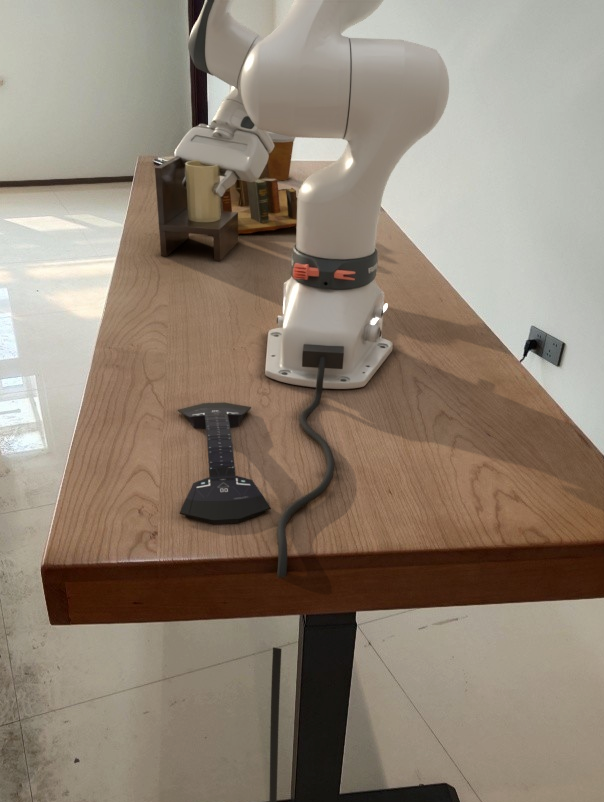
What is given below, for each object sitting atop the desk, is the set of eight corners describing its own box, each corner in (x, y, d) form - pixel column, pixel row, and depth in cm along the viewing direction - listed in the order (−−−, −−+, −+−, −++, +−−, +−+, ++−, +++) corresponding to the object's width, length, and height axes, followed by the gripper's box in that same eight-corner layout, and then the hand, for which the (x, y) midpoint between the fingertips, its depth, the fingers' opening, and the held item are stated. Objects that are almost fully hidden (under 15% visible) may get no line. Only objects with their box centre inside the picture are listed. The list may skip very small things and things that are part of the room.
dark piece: (250, 405, 93) (249, 381, 91) (272, 521, 73) (272, 493, 71) (177, 408, 92) (176, 383, 90) (180, 526, 72) (177, 498, 70)
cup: (215, 223, 142) (213, 167, 137) (183, 221, 143) (180, 165, 138) (224, 215, 148) (223, 161, 142) (193, 213, 148) (191, 159, 143)
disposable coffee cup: (301, 178, 209) (302, 131, 202) (278, 183, 203) (279, 135, 196) (276, 173, 214) (277, 127, 207) (253, 177, 208) (253, 130, 201)
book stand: (316, 237, 159) (312, 162, 150) (208, 251, 157) (196, 176, 148) (293, 197, 187) (288, 132, 178) (201, 209, 185) (191, 143, 176)
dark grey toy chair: (220, 261, 142) (217, 172, 133) (160, 255, 144) (154, 167, 135) (238, 242, 154) (237, 159, 145) (183, 237, 155) (179, 154, 146)
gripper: (187, 111, 145) (154, 171, 144) (266, 123, 135) (231, 188, 134) (204, 134, 151) (172, 192, 150) (281, 147, 141) (248, 209, 140)
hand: (201, 190), depth 142 cm, fingers open, 7 cm apart
